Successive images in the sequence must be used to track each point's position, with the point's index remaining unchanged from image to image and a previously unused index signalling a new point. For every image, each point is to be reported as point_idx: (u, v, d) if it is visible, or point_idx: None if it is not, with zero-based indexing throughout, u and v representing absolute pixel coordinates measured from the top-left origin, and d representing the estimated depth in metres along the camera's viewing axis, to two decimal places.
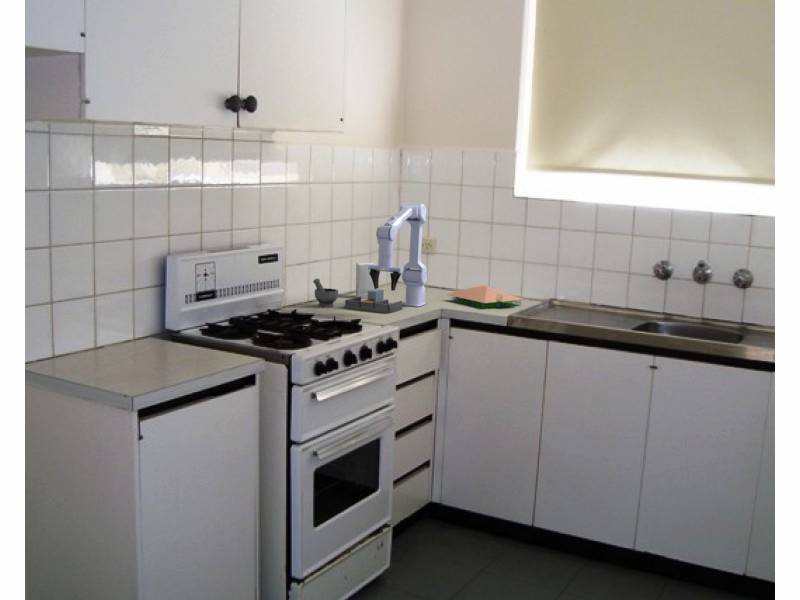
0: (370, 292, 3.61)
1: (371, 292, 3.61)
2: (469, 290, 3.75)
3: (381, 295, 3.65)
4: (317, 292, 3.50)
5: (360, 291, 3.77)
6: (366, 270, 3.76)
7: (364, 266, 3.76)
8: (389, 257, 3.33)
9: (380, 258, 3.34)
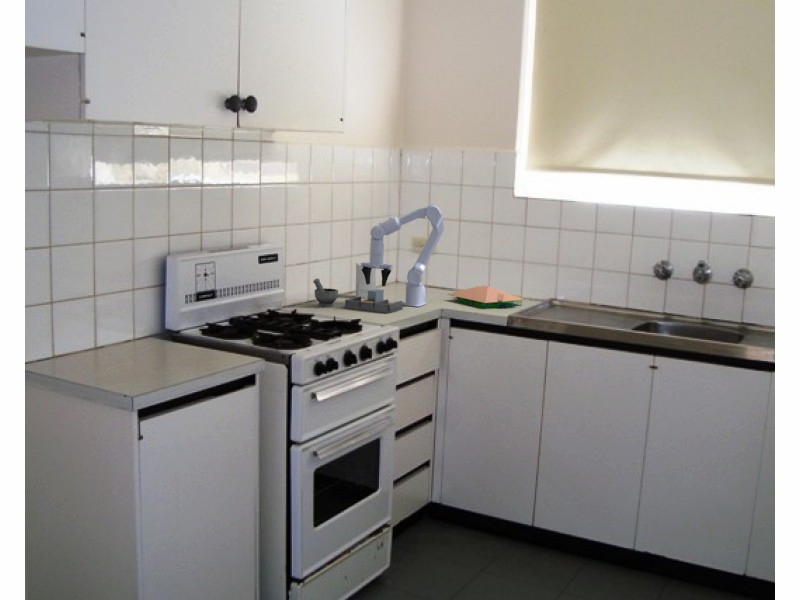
0: (370, 292, 3.61)
1: (371, 292, 3.61)
2: (470, 290, 3.76)
3: (381, 295, 3.65)
4: (317, 292, 3.50)
5: (360, 291, 3.77)
6: None
7: None
8: (380, 255, 3.59)
9: (372, 256, 3.59)
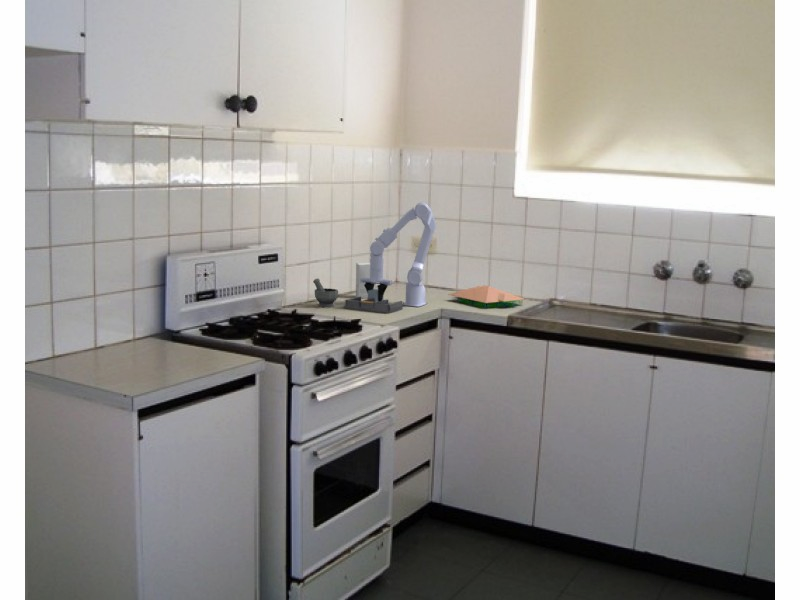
0: (370, 292, 3.61)
1: (371, 292, 3.61)
2: (471, 290, 3.76)
3: None
4: (317, 292, 3.50)
5: (360, 291, 3.77)
6: (366, 270, 3.76)
7: (364, 266, 3.76)
8: (379, 271, 3.60)
9: (371, 271, 3.60)
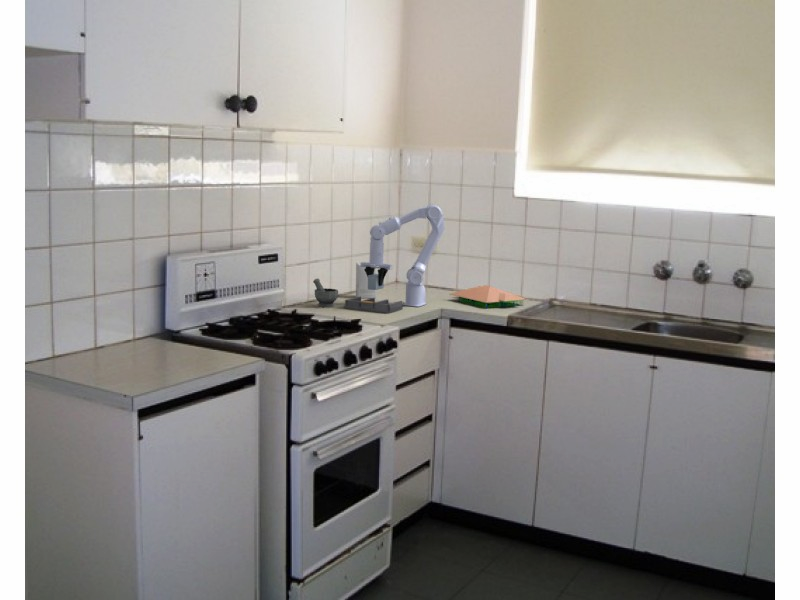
0: (370, 277, 3.58)
1: (371, 277, 3.58)
2: (472, 290, 3.77)
3: None
4: (317, 292, 3.50)
5: (360, 291, 3.77)
6: None
7: None
8: (380, 255, 3.57)
9: (371, 256, 3.58)
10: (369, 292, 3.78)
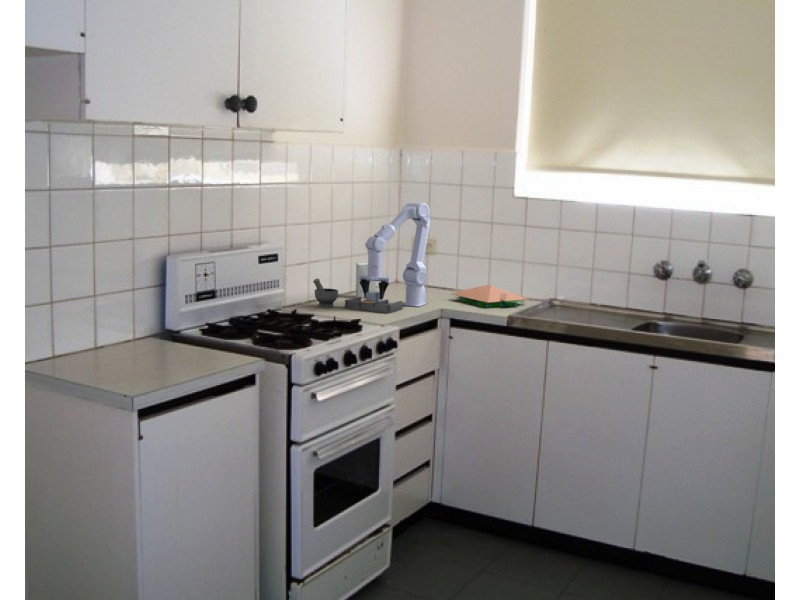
0: (368, 294, 3.48)
1: (369, 294, 3.48)
2: (473, 289, 3.78)
3: None
4: (317, 292, 3.50)
5: (360, 291, 3.77)
6: (366, 270, 3.76)
7: (364, 266, 3.76)
8: (378, 267, 3.46)
9: (369, 268, 3.47)
10: None
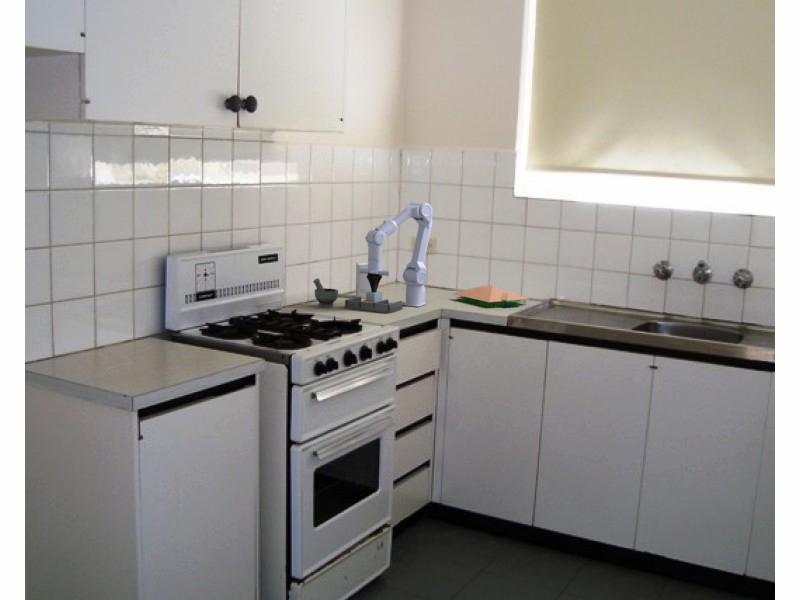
0: (368, 294, 3.48)
1: (369, 294, 3.48)
2: (475, 289, 3.78)
3: (380, 297, 3.51)
4: (317, 292, 3.50)
5: (360, 291, 3.77)
6: None
7: (364, 266, 3.76)
8: (378, 261, 3.46)
9: (369, 262, 3.46)
10: None
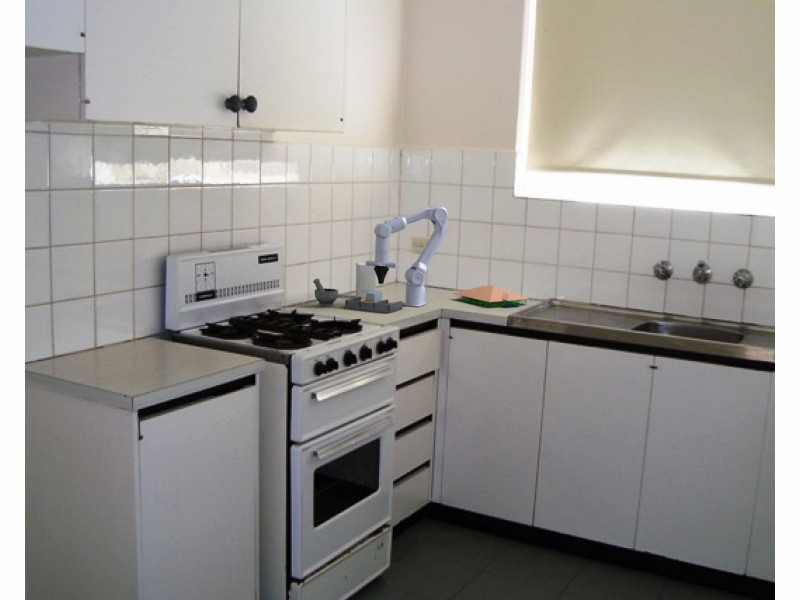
0: (368, 294, 3.48)
1: (369, 294, 3.48)
2: (475, 289, 3.79)
3: (380, 297, 3.51)
4: (317, 292, 3.50)
5: (360, 291, 3.77)
6: (366, 270, 3.76)
7: (364, 266, 3.75)
8: (385, 253, 3.54)
9: (377, 254, 3.55)
10: None
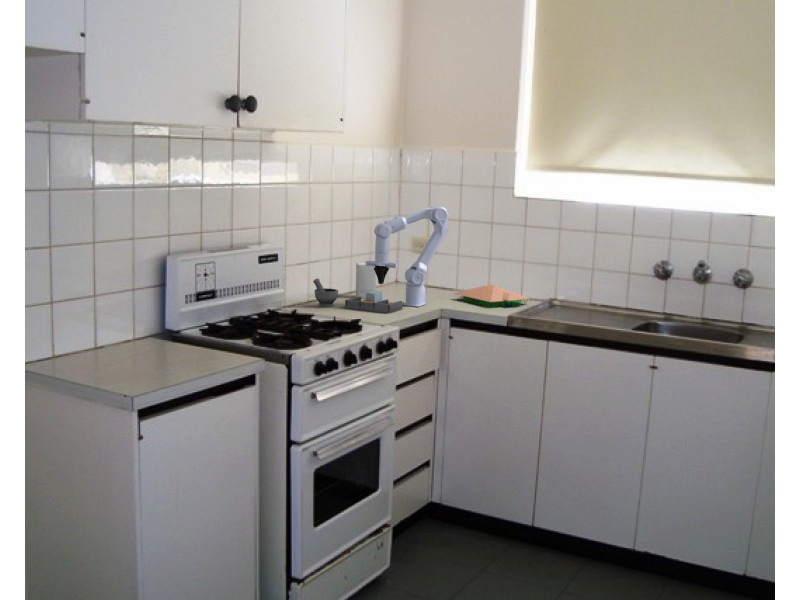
0: (368, 294, 3.48)
1: (369, 294, 3.48)
2: (476, 289, 3.79)
3: (380, 297, 3.51)
4: (317, 292, 3.50)
5: (360, 291, 3.77)
6: (366, 270, 3.76)
7: (364, 266, 3.76)
8: (385, 253, 3.54)
9: (377, 254, 3.55)
10: None
